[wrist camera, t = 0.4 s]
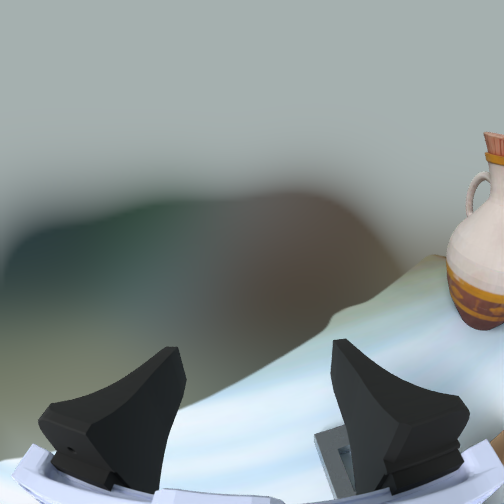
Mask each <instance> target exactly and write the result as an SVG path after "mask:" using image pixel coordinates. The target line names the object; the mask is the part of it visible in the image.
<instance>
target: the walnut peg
mask: <svg viewBox="0 0 504 504" xmlns="http://www.w3.org/2000/svg"><path fill="white" fill-rule="evenodd" d="M490 444H491V446H492V448H493V449H494V451H495V453H496V454H497V456H498V458H499V459H500V461H501V463H502V464H503V466H504V430H503V431H502V432H501V433H500V434H499V435H498V436H497V437H495V438H494V439H493V440H492V441H491V442H490Z"/></svg>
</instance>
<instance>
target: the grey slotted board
mask: <svg viewBox="0 0 504 504" xmlns="http://www.w3.org/2000/svg"><path fill="white" fill-rule="evenodd" d="M314 443H315V446H316V448H317V451H318V454H319V457H320V460H321V463H322V466H323V468H324V471H325V474H326V477H327V480H328V483H329V486H330V488H331V491H332V494H333V497H334V500H335V499H341V498H346V497H351V496H356V491H355V492H354V489H353V487H352V484H351V482H350V479H349V477H348V474H347V472H346V469H345V467H344V464H343V462H342V459H341V457H340V454H343V453H345V452H348V451H351V449H350V444H349V438H348V433H347V430H346V426H345V425H342V426H339V427H336V428H333V429H330V430H327V431H324V432H320V433H317V434H314Z"/></svg>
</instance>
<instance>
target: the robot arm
mask: <svg viewBox="0 0 504 504" xmlns="http://www.w3.org/2000/svg"><path fill="white" fill-rule="evenodd" d="M330 374H331V380H332V385H333V390H334V393H335V396H336V399H337V402H338V405H339V408H340V411H341V414H342V417H343V420H344V423H345V426H346V430H347V433H348V438H349V444H350V449H351V455H352V462H353V469H354V477H355V487H356V496H351V497H346V498H341V499H335V500H329V501H322V502H314V503H305V504H482V503H483V502H484V501H485V500H486V499H487V498H489V497H490V496H491V495H492V494H493V493H494V492H495V491H496V490H497V489H499V488H500V487H501V486H502V485H503V484H504V466H503V464H502V463H501V461H500V459H499V458H498V456H497V454H496V453H495V451H494V449H493V448H492V446H491V444H490V443H489V441H488V440H487V439H484V440H483V441H481V442H479V443H477V444H475V445H473V446H471V447H469V448H468V449H466V450H465V451H463V452H462V453H461V454H460V452H459V450H458V448H459V447H460V443H459V441H458V440H457V439H458V437H459V436H460V434H461V432H462V431H463V429H464V428H465V426H466V424H467V422H468V420H469V415H470V412H469V410H468V408H467V407H466V406H465V404H464V403H463V401H462V400H461V399H460V397H459V396H455V395H449V394H443V393H438V392H435V391H431V390H427V389H424V388H421V387H419V386H416V385H414V384H411V383H409V382H407V381H404V380H402V379H400V378H399V377H397V376H395V375H393V374H391V373H390V372H388V371H386V370H385V369H383V368H382V367H380V366H379V365H377V364H376V363H375V362H373V361H372V360H371V359H369V358H368V357H367V356H366V355H364V354H363V353H362V352H361V351H360V350H359V349H357V348H356V347H355V346H354V345H353V344H352V343H350V342H349V341H348V340H347V339H339V340H333V350H332V362H331V373H330ZM186 380H187V379H186V375H185V372H184V368H183V364H182V361H181V357H180V353H179V349H178V347H165V348H164V349H162V350H161V351H159V352H158V353H157V354H156V355H155V356H153V357H152V358H150V359H149V360H148V361H147V362H145V363H144V364H143V365H141V366H140V367H139V368H137V369H136V370H135V371H133V372H131V373H130V374H128V375H127V376H125V377H124V378H122V379H121V380H119V381H117V382H116V383H114V384H112V385H110V386H108V387H106V388H104V389H101V390H99V391H97V392H94V393H92V394H89V395H86V396H83V397H80V398H76V399H73V400H68V401H62V402H57V403H51V404H50V405H49V407H48V408H47V409H46V410H45V412H44V413H43V414H42V416H41V417H40V418H39V420H38V424H39V426H40V429H41V430H42V432H43V434H44V435H45V436H46V438H47V439H48V440H49V442H50V443H51V444H52V445H53V447H54V448H55V449H56V450H57V452H56V454H55V455H53V454H52V453H51V452H49V451H48V450H46V449H43V448H41V447H39V446H38V445H36V444H32V446H31V447H30V448H29V450H28V451H27V453H26V454H25V455H24V457H23V458H22V460H21V461H20V463H19V464H18V466H17V467H16V468H15V470H14V471H13V473H12V474H11V477H12V478H13V479H14V480H15V481H16V482H17V483H18V484H19V485H20V486H21V487H22V488H23V489H24V490H26V491H27V492H28V493H29V494H30V495H31V496H32V497H34V498H35V499H36V500H37V501H38V502H40V503H41V504H285V503H284V502H283V501H282V500H280V499H276V498H272V497H269V496H256V495H230V494H215V493H204V492H196V491H188V490H181V489H169V488H164V489H161V490H159V484H160V476H161V469H162V463H163V458H164V453H165V448H166V444H167V439H168V436H169V433H170V430H171V427H172V424H173V422H174V419H175V416H176V414H177V411H178V409H179V406H180V403H181V400H182V398H183V394H184V390H185V385H186Z"/></svg>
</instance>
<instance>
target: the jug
mask: <svg viewBox="0 0 504 504" xmlns="http://www.w3.org/2000/svg"><path fill="white" fill-rule="evenodd" d="M484 136H485V141H486V145H487V149H488V152H486V153H485V156H486V160H487V161H488V165H489V171H490V173H489V172H486V171H485V172H480V173H479V174H477V175H476V176H475V177H474V178H473V180H472V182H471V183H470V186H469V188H468V192H467V196H466V215H467V218H466V219H464V220H463V221H462V222H461V223H460V224H459V225H458V226H457V228H456V229H455V231H454V232H453V233H452V235H451V237H450V241H449V244H448V247H447V258H446V266H447V279H448V284H449V290H450V294H451V297H452V299H453V301H454V304H455V306H456V308H457V310H458V312H459V313H460V315H461V317H462V319H463V321H464V322H465V323H466V324H467V325H469V326H470V327H472V328H474V329H477V330H490V329H492V328H494V327H497V326H499V325H501V324H502V323H504V135H501V134H496V133H490V132H484ZM484 180H487V181H488V182H489V183H490V184H491V190H490V196H489V198H488V199H487V200H486V201H485V203H483V204H482V205H481V206H480V207H479V208H478V209H477V210H476V211H475V212H473V207H472V206H473V197H474V193H475V191H476V189H477V187H478V185H479V184H480V183H481V182H482V181H484Z"/></svg>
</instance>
